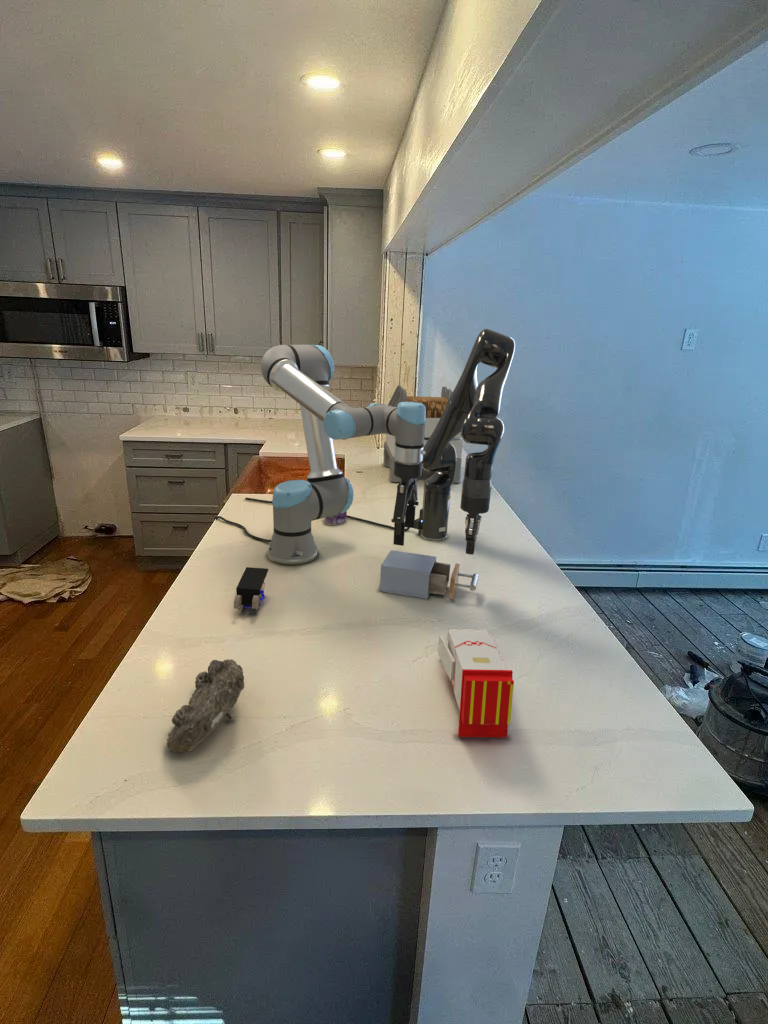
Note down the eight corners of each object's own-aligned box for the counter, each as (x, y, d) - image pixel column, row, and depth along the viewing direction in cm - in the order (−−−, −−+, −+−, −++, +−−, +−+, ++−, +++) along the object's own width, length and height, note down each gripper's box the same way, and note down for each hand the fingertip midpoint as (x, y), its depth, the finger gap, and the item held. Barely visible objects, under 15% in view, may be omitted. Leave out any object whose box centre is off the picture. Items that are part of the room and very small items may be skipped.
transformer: (382, 463, 289) (386, 382, 275) (445, 464, 293) (451, 384, 279) (390, 482, 257) (394, 392, 243) (460, 483, 261) (468, 394, 247)
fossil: (192, 660, 117) (244, 628, 112) (224, 691, 120) (276, 661, 115) (142, 746, 98) (202, 712, 93) (182, 779, 101) (242, 748, 96)
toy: (488, 613, 130) (523, 677, 101) (484, 667, 133) (517, 744, 104) (435, 612, 130) (455, 676, 101) (432, 666, 133) (451, 743, 103)
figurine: (328, 527, 202) (328, 487, 197) (317, 518, 211) (318, 479, 206) (352, 524, 206) (353, 484, 201) (341, 515, 215) (342, 477, 210)
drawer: (477, 586, 162) (480, 566, 160) (474, 602, 153) (476, 581, 151) (415, 576, 166) (416, 557, 164) (408, 591, 157) (409, 571, 155)
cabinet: (434, 581, 166) (436, 556, 163) (427, 598, 156) (429, 572, 153) (389, 574, 169) (390, 549, 166) (379, 591, 159) (380, 565, 156)
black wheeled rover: (260, 622, 143) (270, 588, 156) (258, 597, 140) (268, 565, 153) (233, 621, 143) (245, 588, 156) (231, 597, 139) (243, 564, 153)
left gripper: (412, 475, 138) (407, 554, 145) (430, 452, 161) (425, 522, 168) (382, 472, 140) (379, 550, 147) (405, 449, 163) (401, 519, 170)
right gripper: (488, 502, 142) (481, 565, 148) (492, 487, 154) (485, 546, 160) (458, 498, 143) (452, 560, 149) (464, 484, 155) (459, 542, 161)
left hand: (404, 535), depth 158 cm, fingers open, 13 cm apart
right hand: (469, 553), depth 154 cm, fingers closed
